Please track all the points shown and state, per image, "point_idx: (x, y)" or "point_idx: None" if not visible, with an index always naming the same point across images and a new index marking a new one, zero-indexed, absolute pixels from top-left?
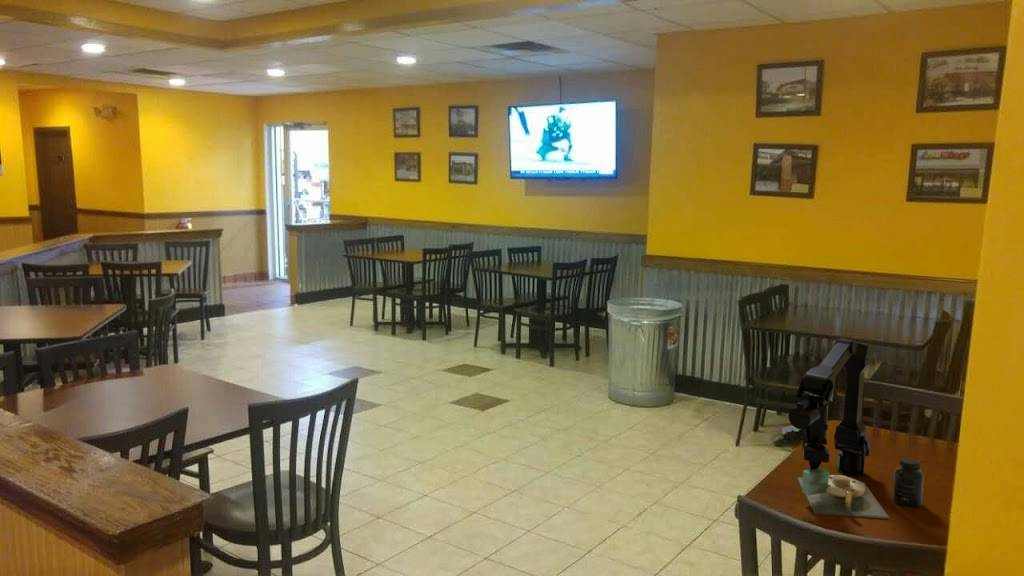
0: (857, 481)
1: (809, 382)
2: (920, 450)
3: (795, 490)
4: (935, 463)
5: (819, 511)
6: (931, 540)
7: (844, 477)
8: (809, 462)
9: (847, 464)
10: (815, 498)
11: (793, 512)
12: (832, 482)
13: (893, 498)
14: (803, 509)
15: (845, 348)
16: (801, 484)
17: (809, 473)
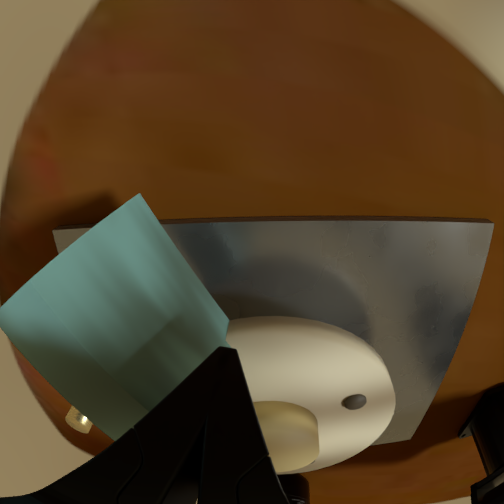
0: (312, 466)
1: None
2: None
3: (344, 169)
4: (464, 492)
5: (59, 251)
6: (78, 445)
7: (286, 462)
8: (125, 434)
9: (498, 424)
10: (208, 264)
11: (38, 128)
12: (275, 403)
13: (279, 475)
14: (79, 178)
15: None
16: (409, 223)
17: (6, 324)
